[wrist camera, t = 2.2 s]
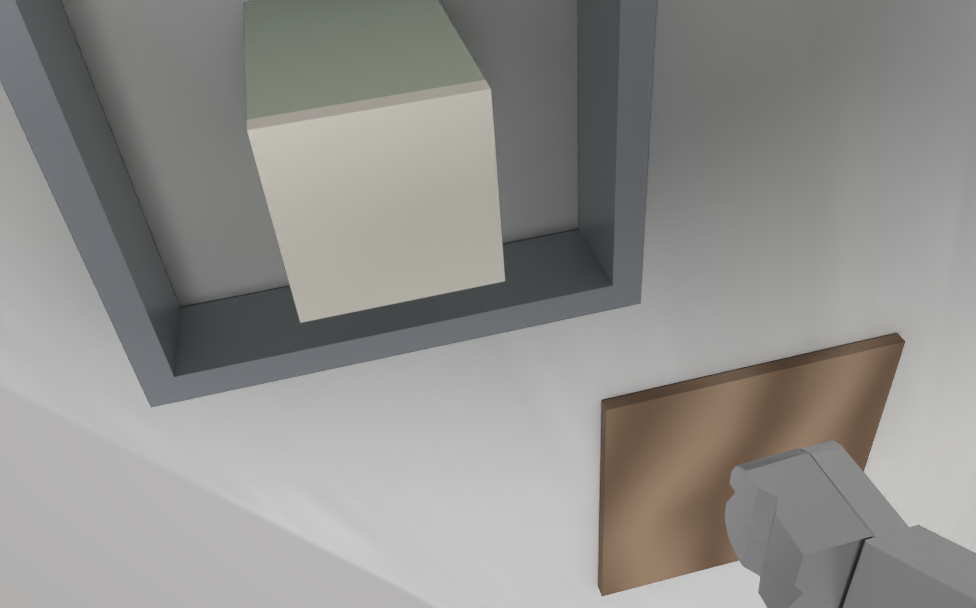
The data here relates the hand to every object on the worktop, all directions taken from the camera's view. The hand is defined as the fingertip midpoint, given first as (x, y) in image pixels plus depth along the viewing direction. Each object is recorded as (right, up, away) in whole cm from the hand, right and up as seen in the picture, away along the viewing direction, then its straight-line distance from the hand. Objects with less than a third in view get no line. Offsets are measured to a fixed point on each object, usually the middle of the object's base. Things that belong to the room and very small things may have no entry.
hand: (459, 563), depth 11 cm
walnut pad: (+13, -5, +30) cm, 32 cm away
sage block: (-4, +10, +13) cm, 17 cm away
